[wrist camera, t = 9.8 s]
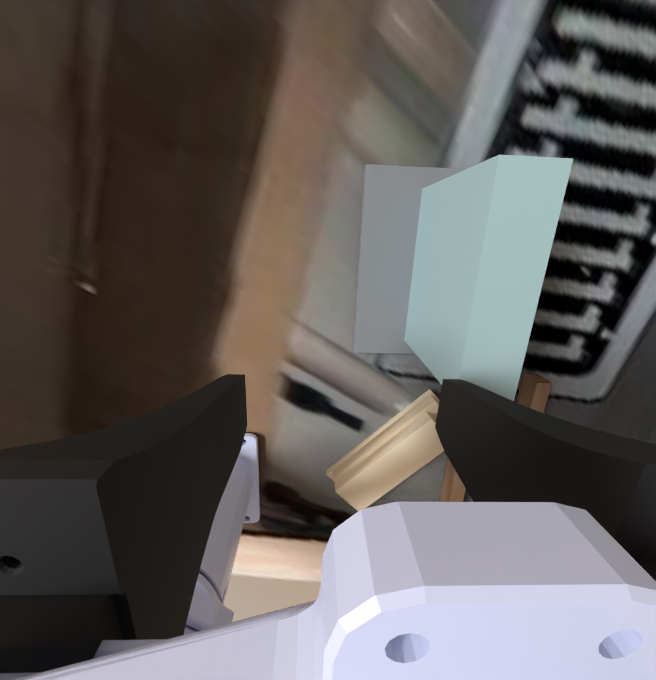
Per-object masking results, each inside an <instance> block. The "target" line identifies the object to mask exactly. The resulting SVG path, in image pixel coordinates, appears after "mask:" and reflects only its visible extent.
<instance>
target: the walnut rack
mask: <svg viewBox="0 0 656 680" xmlns="http://www.w3.org/2000/svg"><path fill="white" fill-rule="evenodd" d="M551 385H552V383H551V382H549V381H547V380H546V379H544V378H543V377H541V376H539V375H538V374H523V377H522V381H521V385H520V389H519V393H518V397H517V401H516V402H517V403H519V404H521V405H524V406H526V407H529V408H531V409H534V410H536V411H539V412H541V413H544V409H545V406H546V402H547V399H548V395H549V392H550V388H551ZM465 489H466V488H465V486H464V484H463V483H462V481H461V479H460V478H459V476H458V474H457V473H456V471H455V469H454V467H453V466H452V464H451V462H450V460H449V459H448V458H447V464H446V469H445V475H444V480H443V486H442V491H441V496H440V502H463V499H464V494H465Z"/></svg>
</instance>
